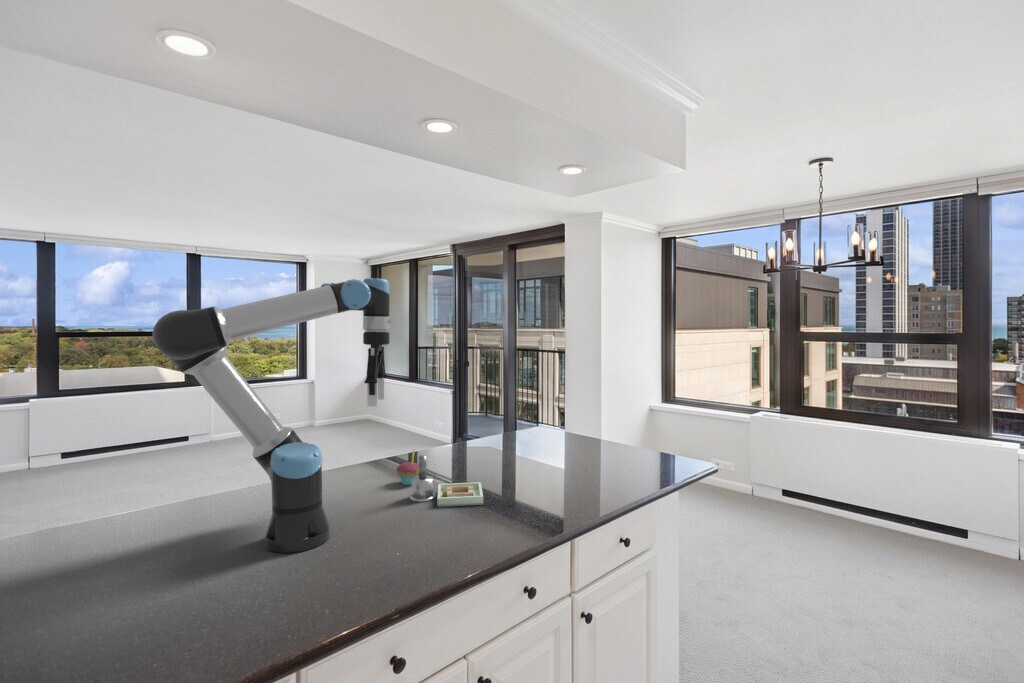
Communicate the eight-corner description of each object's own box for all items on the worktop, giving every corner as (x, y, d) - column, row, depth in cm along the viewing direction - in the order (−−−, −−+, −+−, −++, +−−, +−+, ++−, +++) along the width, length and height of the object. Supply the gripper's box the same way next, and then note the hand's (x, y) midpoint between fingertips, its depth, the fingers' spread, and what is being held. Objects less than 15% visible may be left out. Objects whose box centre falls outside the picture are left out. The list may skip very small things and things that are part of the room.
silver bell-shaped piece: (435, 501, 154) (435, 459, 154) (408, 502, 153) (408, 460, 153) (436, 492, 162) (435, 452, 162) (411, 493, 161) (410, 453, 161)
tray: (483, 504, 151) (483, 496, 151) (437, 506, 150) (437, 498, 149) (480, 489, 165) (480, 482, 165) (438, 491, 163) (438, 484, 163)
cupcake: (424, 479, 176) (424, 445, 175) (417, 487, 167) (417, 451, 167) (400, 479, 177) (400, 445, 176) (392, 487, 168) (392, 451, 168)
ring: (473, 499, 154) (473, 493, 153) (442, 501, 152) (442, 494, 152) (472, 491, 162) (472, 485, 161) (442, 492, 160) (442, 486, 160)
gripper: (383, 331, 137) (383, 409, 138) (394, 330, 162) (394, 396, 163) (354, 331, 137) (354, 409, 137) (370, 330, 161) (370, 396, 162)
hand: (376, 402), depth 150 cm, fingers open, 13 cm apart
